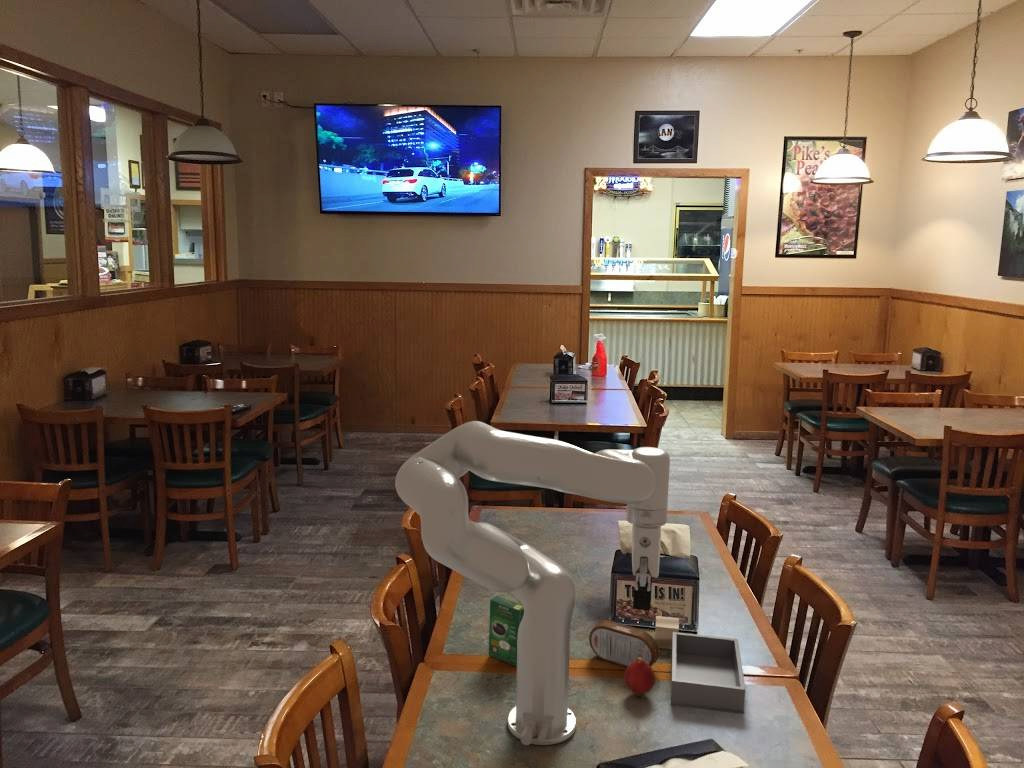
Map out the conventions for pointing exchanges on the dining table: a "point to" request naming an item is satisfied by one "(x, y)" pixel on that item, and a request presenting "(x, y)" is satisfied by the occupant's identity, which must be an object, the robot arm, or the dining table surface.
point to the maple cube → (665, 631)
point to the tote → (707, 673)
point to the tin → (622, 643)
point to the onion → (639, 677)
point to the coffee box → (504, 629)
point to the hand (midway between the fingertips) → (642, 597)
